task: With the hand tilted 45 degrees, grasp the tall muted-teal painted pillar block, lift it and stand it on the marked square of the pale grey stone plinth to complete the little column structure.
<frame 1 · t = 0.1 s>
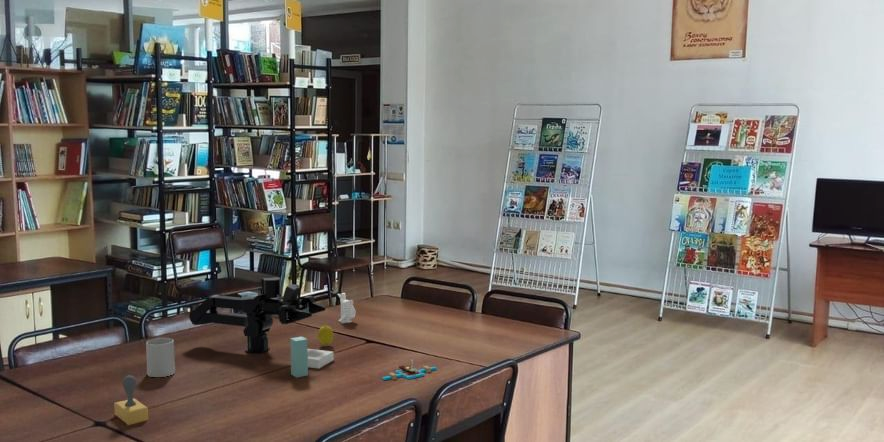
hand: (318, 311, 265), 17 cm above the table, tool horizontal, fingers open, 9 cm apart
pillar: (299, 374, 249), on the table
white upright figurine: (345, 322, 317), on the table
mug: (159, 373, 251), on the table
gear mechanism: (408, 375, 251), on the table
rubber stamp: (131, 418, 212), on the table
plinth: (313, 362, 262), on the table
lemon: (325, 346, 282), on the table
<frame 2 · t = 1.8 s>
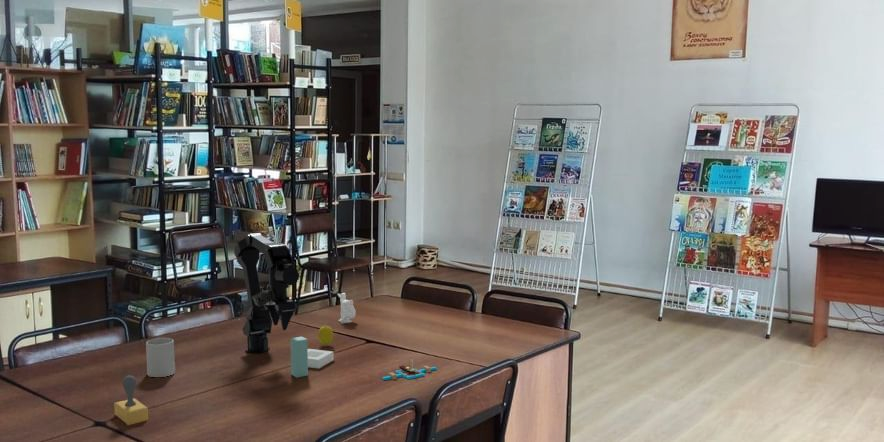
hand: (280, 327, 259), 13 cm above the table, tool pointing down, fingers open, 9 cm apart
nothing on the table moved.
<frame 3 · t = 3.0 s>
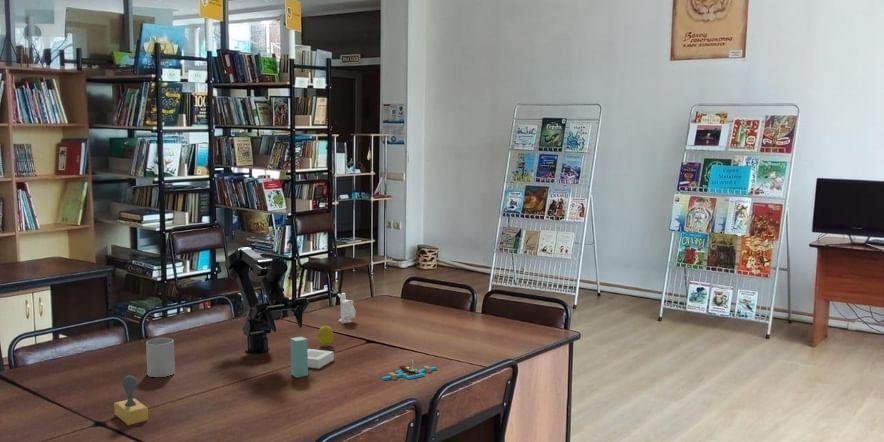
hand: (288, 329, 254), 13 cm above the table, tool tilted 45°, fingers open, 9 cm apart
nothing on the table moved.
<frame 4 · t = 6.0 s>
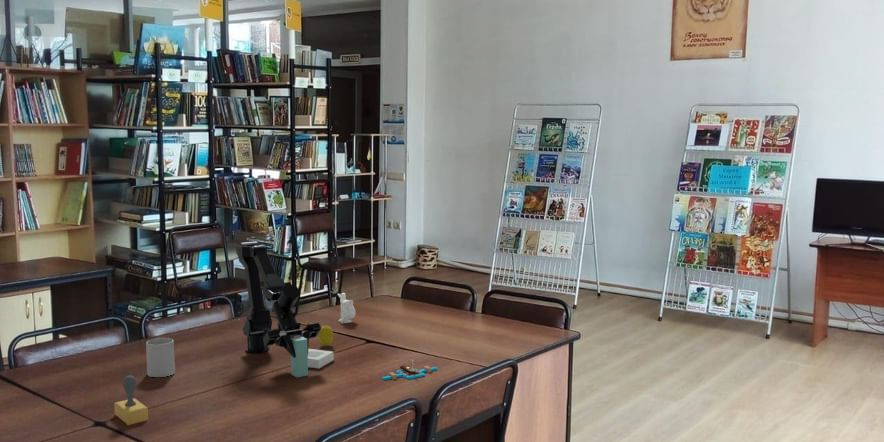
hand: (301, 356, 247), 7 cm above the table, tool tilted 45°, fingers closed on pillar, 4 cm apart
pillar: (299, 374, 249), on the table, touching gripper
everything else where it was.
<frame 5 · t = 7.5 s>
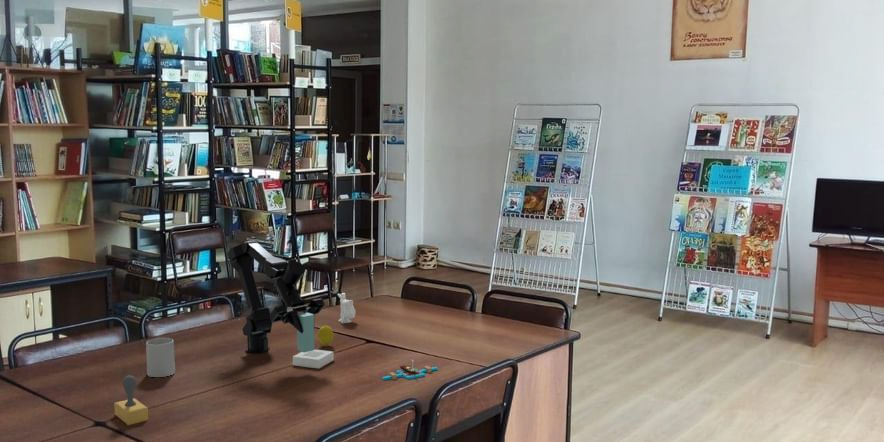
hand: (308, 331, 251), 13 cm above the table, tool tilted 45°, fingers closed on pillar, 4 cm apart
pillar: (305, 350, 253), point 7 cm above the table, touching gripper
everything else where it was.
when the fingers open (10 cm above the table, at t = 9.1 s): pillar stays where it is, resting on plinth.
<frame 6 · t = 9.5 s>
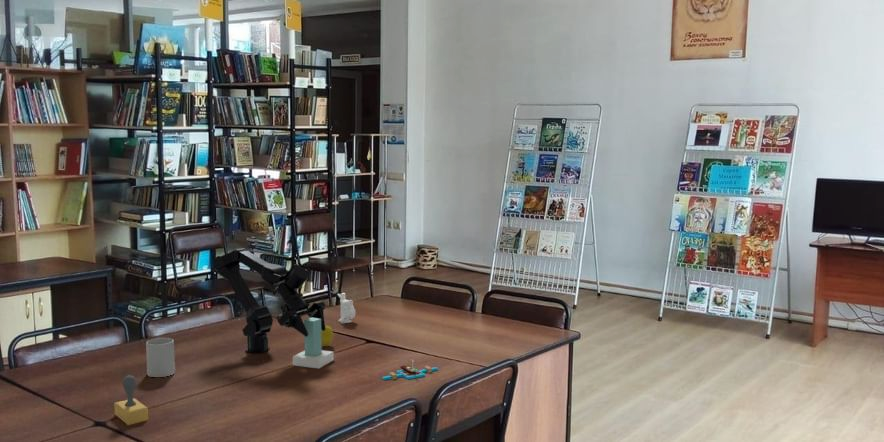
hand: (316, 333, 260), 11 cm above the table, tool tilted 45°, fingers open, 8 cm apart
pillar: (313, 353, 262), point 3 cm above the table, touching plinth
everything else where it was.
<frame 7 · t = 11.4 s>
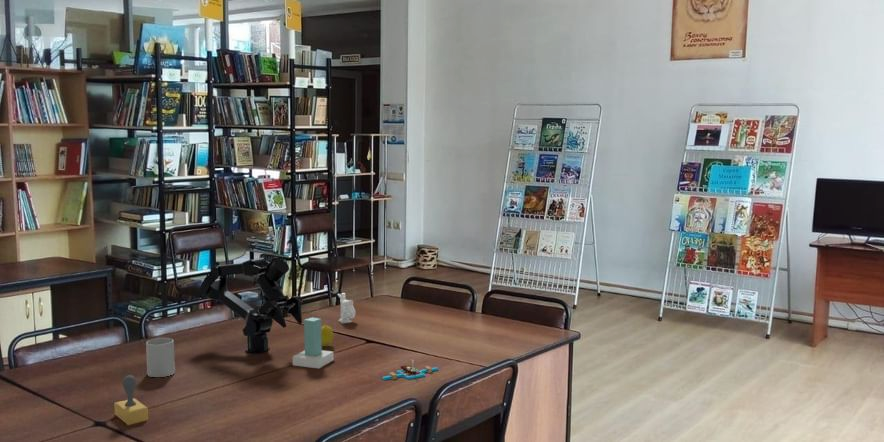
hand: (293, 325, 265), 12 cm above the table, tool tilted 40°, fingers open, 9 cm apart
nothing on the table moved.
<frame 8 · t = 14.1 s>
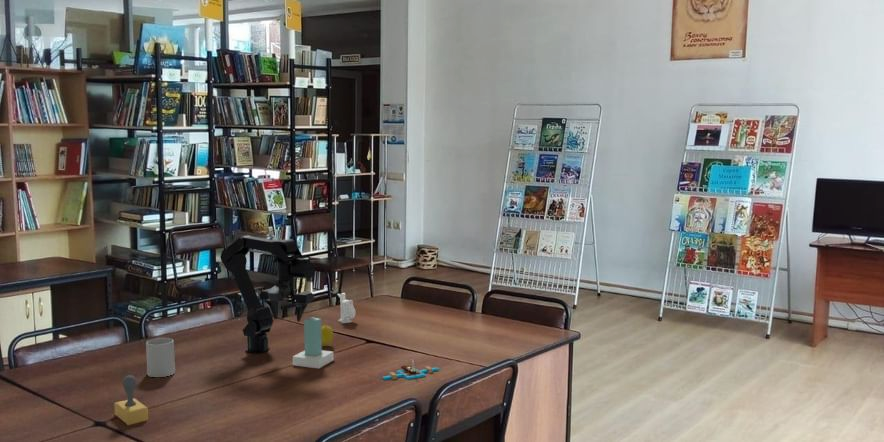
hand: (287, 320, 268), 13 cm above the table, tool pointing down, fingers open, 9 cm apart
nothing on the table moved.
at the end: pillar inside the target area on the plinth (0.0 cm from its centre), point 3.1 cm above the plinth's base; pillar tilted 0°; the gripper is holding nothing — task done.
